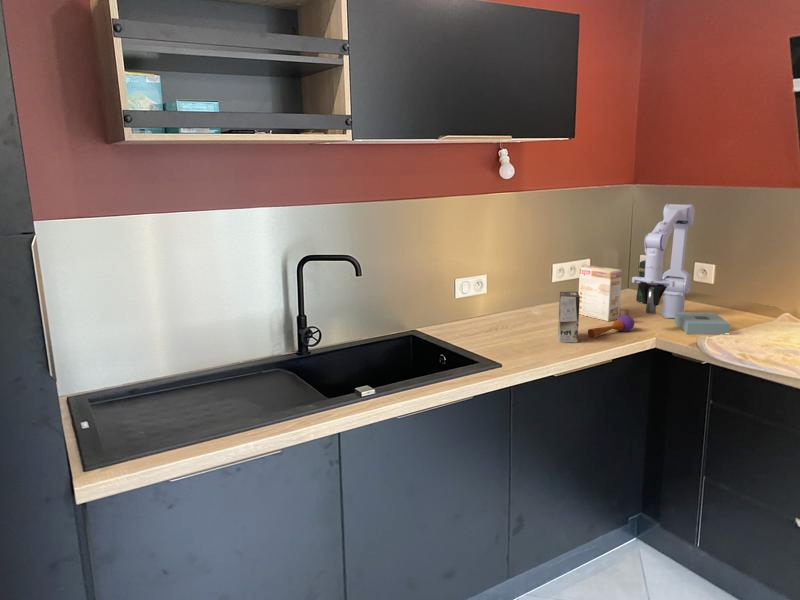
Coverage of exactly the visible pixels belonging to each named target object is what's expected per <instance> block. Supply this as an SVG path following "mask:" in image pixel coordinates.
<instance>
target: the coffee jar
mask: <svg viewBox="0 0 800 600" xmlns="http://www.w3.org/2000/svg"><path fill="white" fill-rule="evenodd" d="M645 263H646V259H645V260H641V261H640V262H639V265H638V274H639V275H638V277H645ZM639 285H640V283H637V291H636V298H635V299H636V300H635V301H636V302H637V303H640V302H642V303H641V304H644V300H643V296H642V293H641V291H640V289H639ZM655 286H657V285H652V284H651V286H650V287H653V288H654V287H655Z"/></svg>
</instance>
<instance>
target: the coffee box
mask: <svg viewBox="0 0 800 600" xmlns="http://www.w3.org/2000/svg"><path fill="white" fill-rule="evenodd" d="M558 300H559V301H558V303H559V304H558V326H557V327H558V330H557V331H558V332H557V333H558V334H557V337H558V342H559V343H575V344H576V343H578V341H579V338H578V336H579V319H580V315H579V304H580V296H579V291H559V298H558Z"/></svg>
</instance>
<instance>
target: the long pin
mask: <svg viewBox="0 0 800 600" xmlns="http://www.w3.org/2000/svg"><path fill="white" fill-rule="evenodd" d="M654 302H655V289H654V288H653V287H650V288H648V289H647V304H645V305H646V307H645V308H646V309H645V314H647V315H654V314H656V309H657V306H655V305H654Z"/></svg>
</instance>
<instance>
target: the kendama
mask: <svg viewBox="0 0 800 600" xmlns="http://www.w3.org/2000/svg"><path fill="white" fill-rule="evenodd" d="M634 327H635V320H634V318H633V317H632V316H630V315H629V314H628V315H623V316H620V317H619V318H618V319H617V320H614V322H613V323H612V324H611V325H609V326H608V325H607V326H602V327H601V326H600V327H595V328H589V329H588V330H587V336H588V337H589V338H591V339H594V338H596V337H599V336H601V335H603V334H605V333H606V332H609V331H611V330H614V331H618V332H631V330H632V329H634Z"/></svg>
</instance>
